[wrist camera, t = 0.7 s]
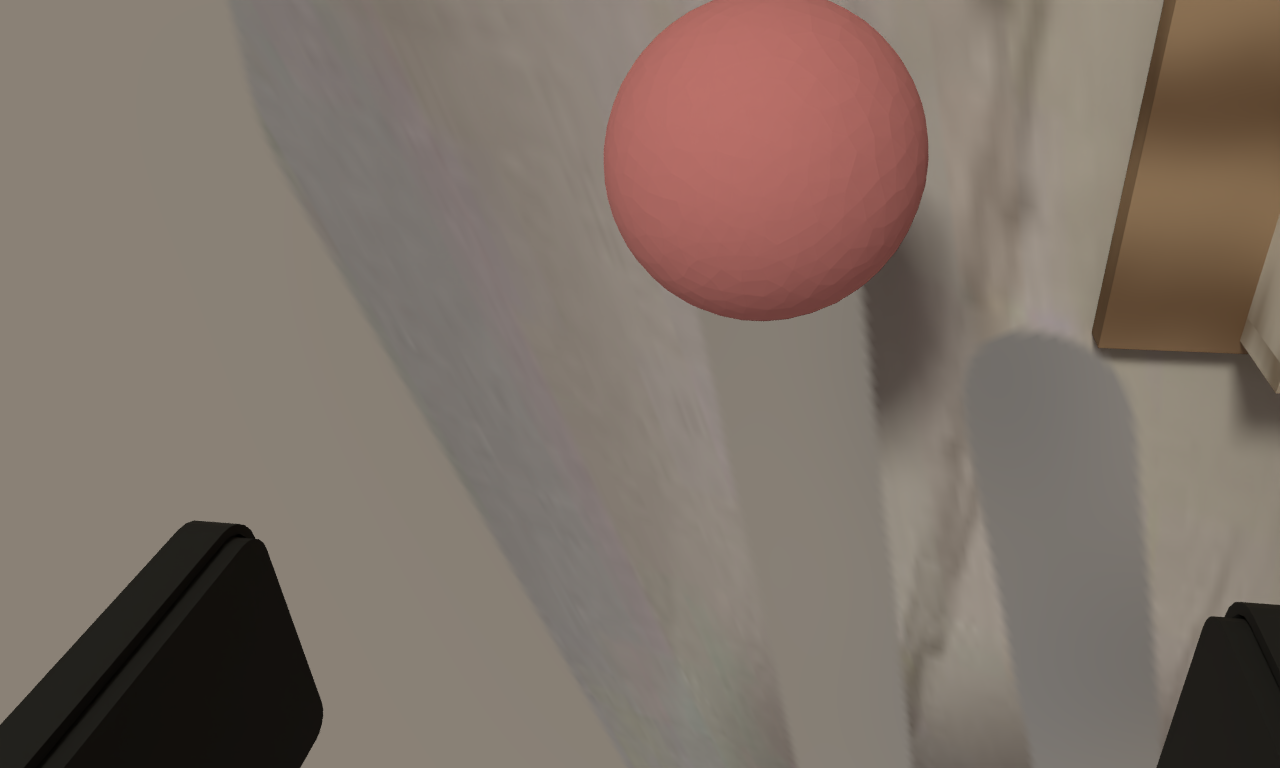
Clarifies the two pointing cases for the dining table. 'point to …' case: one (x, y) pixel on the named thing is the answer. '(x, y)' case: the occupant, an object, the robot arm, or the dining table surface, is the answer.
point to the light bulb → (766, 156)
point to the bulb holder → (1202, 192)
